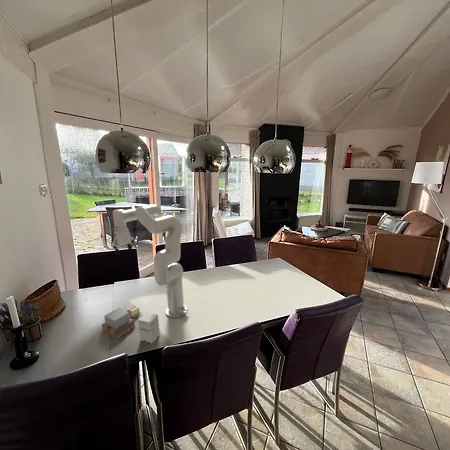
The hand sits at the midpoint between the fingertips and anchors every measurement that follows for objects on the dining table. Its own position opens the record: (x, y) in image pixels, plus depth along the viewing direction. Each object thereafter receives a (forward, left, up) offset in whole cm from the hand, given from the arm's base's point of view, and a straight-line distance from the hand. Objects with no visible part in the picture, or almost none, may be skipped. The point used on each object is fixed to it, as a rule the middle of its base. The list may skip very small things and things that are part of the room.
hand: (124, 252), depth 175 cm
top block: (-29, +29, -27) cm, 49 cm away
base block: (-29, +29, -32) cm, 52 cm away
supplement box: (-50, +25, -32) cm, 64 cm away
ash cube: (-25, +16, -31) cm, 43 cm away
